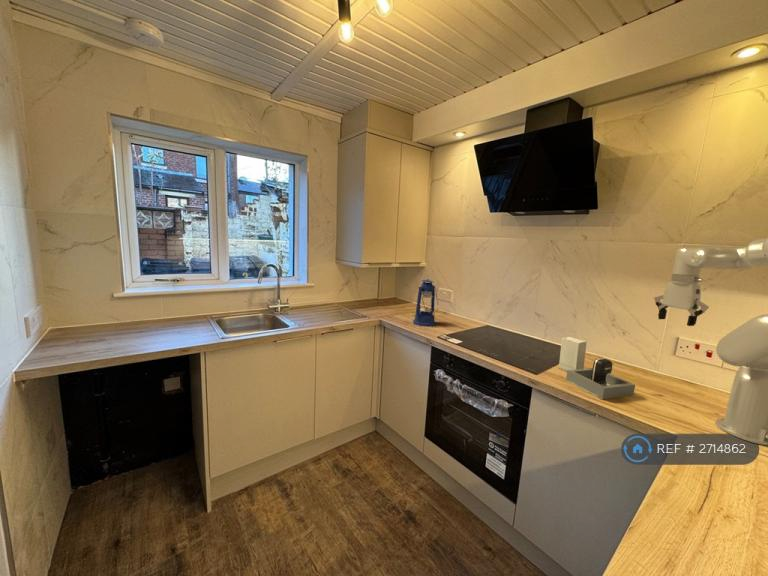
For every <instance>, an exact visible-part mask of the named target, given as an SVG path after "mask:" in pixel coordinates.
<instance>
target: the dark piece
mask: <svg viewBox="0 0 768 576" xmlns="http://www.w3.org/2000/svg"><path fill="white" fill-rule="evenodd" d="M592 368H593V369H592V376H591V380H592V381H594V382H596V383H598V384H600V385H602V386H607V384H606V375H607V374H608V373H610V374H612V371H613V362H612V361H611V360H610V359H607V358H605V357H602V358H596V359H594V361H593V365H592Z"/></svg>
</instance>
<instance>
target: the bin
mask: <svg viewBox="0 0 768 576" xmlns="http://www.w3.org/2000/svg"><path fill="white" fill-rule="evenodd" d="M592 369H593V367H590V368H584V369H576V370H567V371H566V377H565V381H566V382H568V383H570V384H571V385H574V386H576V387H578V388H580V389H581V390H583V391H585V392H586V393H589V394H591V395H593V396H594V397H597V398H599V399H600V400H610V399H619V398H624V397H626V398H628V397H631V396H633V397H634V393H635V388H636V384H634V383H633V382H631V381H627V380H625V379H623V378H621V377H618V376H616V375H614V374H612V373H608V374H607V375H606V384H607V386H602V385H600V384H598V383H596V382H594V381H592V380H591V376H592Z"/></svg>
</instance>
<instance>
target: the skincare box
mask: <svg viewBox="0 0 768 576" xmlns="http://www.w3.org/2000/svg"><path fill="white" fill-rule="evenodd" d="M587 342H588V341H586V340H584V339H579V338H576V337H571V336H567V337H566V336H565V337H562V338H561V342H560V343H561V345H560V351H559V353H560V354H559V362H558V363H559V364H558V369H560V370H563V371H565V372H567V370H576V369H585V361H586V352H587Z"/></svg>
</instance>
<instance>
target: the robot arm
mask: <svg viewBox="0 0 768 576" xmlns="http://www.w3.org/2000/svg"><path fill="white" fill-rule="evenodd" d="M674 259H675V260H674V264H673V269H672V273H671V279H670V281H669V282H668V283H667V285H666V286H665V289H664V292H663V295H662V294H661V295H659V296H654V297H653V301H654V302H655V306H656V307H657V309H658V314H657V316H658V318H657V319H658V320H666V317H667V312H668V308H669V307H670V308H675V309H680V310H685V311H686V310H687V311H688V312H689V314H690V315H688V317H687V323H686V325H687V326H688V327H694V326H695V325H696V324H697V319H698V317H700V315H702V314H705V312H706V311H707V310H708V309H709V308H710V307H709V306H708V304H706V303H704V302H703V301H701V299H702V298H701V296H702V295H701V294H702V290H701V289H702V288H701V284H699V283H702V282H703V281H704V279H703V278H701V276H700V274H701V270H702V269H712V270H713V269H714V270H715V269H716V270H739V269H740V270H742V269H754V268H762V267H768V237H766V238H765V237H764V238H758V239H755V240H754V239H753V241H751V242H750V243H749V244H747V246H744V247H734V248H733V247H732V248H731V247H729V248H728V247H709V246H705V247H704V246H702V247H690V246H689V247H679V248H678V249H677V251H676V254H675V258H674ZM661 300H662V301H661ZM715 350H716V355H717V357H718V358H719V359H720V360H721V361H722V362H724V363H726V365H727V364H728V365H730V366H733V367H738V369H737V371H736V373H735V376H734V377H733V381H732V386H731V389H730V390H731V391H730V393H729V394H730V395H729V399H728V402H727V405H726V410H725V415H724V418H723V417H721V418H717V419H716V420H715V425H716V426H717V427H718V428H719V429H721V430H722V431H723V432H725V433H727V434H729V435H731V436H734V437H736V438H738V439H741V440H744V441H747V442H750V443H753V444H757V445H762V446H768V313H764V314H760V315H757V316H754V317H753V318H750V320H747V321H746V322H744V323H742V324H741V325H740V326H738V327H737V328H735V329H733V330H731V331H730V332H729V333H727V334H725V336H723V337H722V338H720V339H719V341H718V343H717V345H716V349H715Z"/></svg>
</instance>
